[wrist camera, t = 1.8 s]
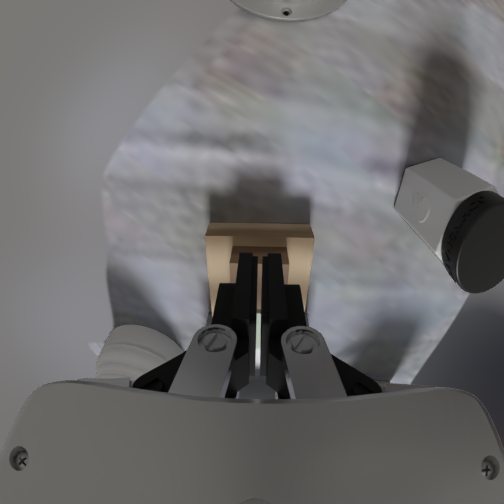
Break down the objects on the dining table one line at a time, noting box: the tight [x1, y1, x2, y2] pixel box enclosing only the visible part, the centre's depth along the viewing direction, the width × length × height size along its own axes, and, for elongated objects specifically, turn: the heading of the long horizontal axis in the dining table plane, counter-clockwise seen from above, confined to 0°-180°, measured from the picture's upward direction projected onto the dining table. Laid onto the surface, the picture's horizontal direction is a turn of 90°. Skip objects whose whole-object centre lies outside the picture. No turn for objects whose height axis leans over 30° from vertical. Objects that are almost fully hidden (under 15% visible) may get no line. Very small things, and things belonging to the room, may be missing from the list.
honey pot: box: [96, 325, 183, 381], centre depth 33 cm, size 13×13×18 cm
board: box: [205, 222, 315, 317], centre depth 31 cm, size 12×10×3 cm
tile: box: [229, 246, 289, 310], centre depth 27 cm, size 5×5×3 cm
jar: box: [394, 158, 504, 293], centre depth 22 cm, size 9×8×12 cm
